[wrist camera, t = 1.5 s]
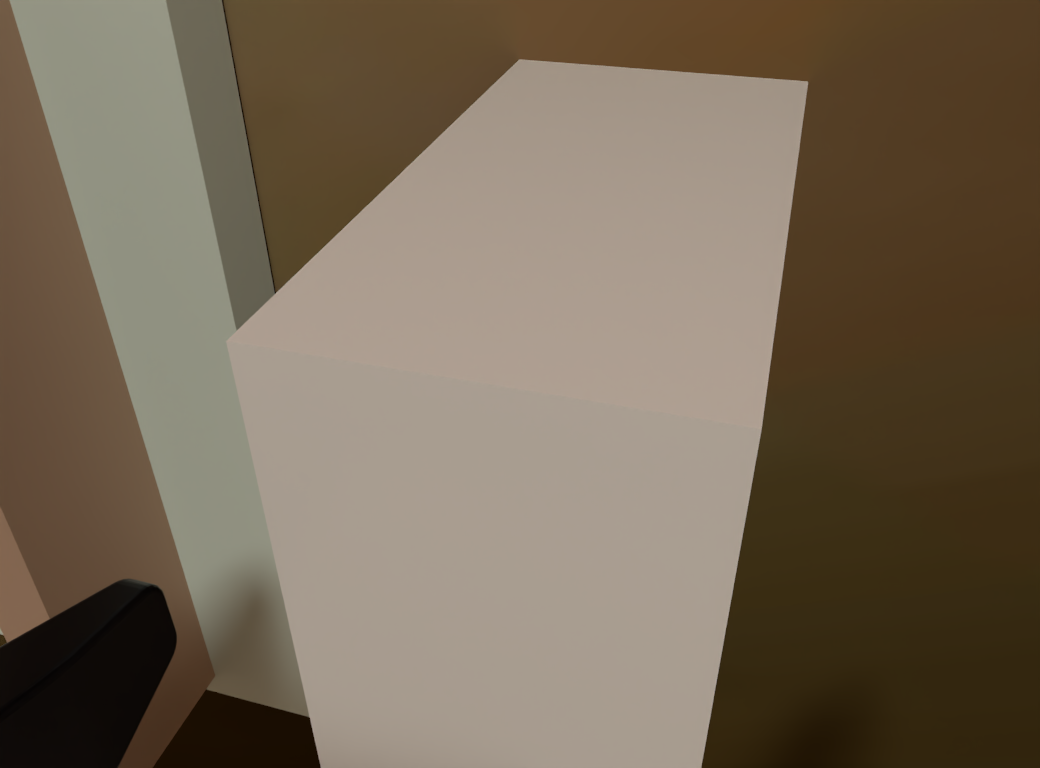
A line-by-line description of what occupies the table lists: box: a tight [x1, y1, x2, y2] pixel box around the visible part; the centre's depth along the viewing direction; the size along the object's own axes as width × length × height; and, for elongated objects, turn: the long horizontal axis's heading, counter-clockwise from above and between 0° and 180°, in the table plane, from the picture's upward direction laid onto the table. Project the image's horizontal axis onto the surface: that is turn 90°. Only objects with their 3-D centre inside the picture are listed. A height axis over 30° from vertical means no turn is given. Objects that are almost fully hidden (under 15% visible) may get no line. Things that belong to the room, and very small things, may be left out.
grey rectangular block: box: [226, 60, 808, 768], centre depth 10 cm, size 3×10×6 cm, turn 0°
